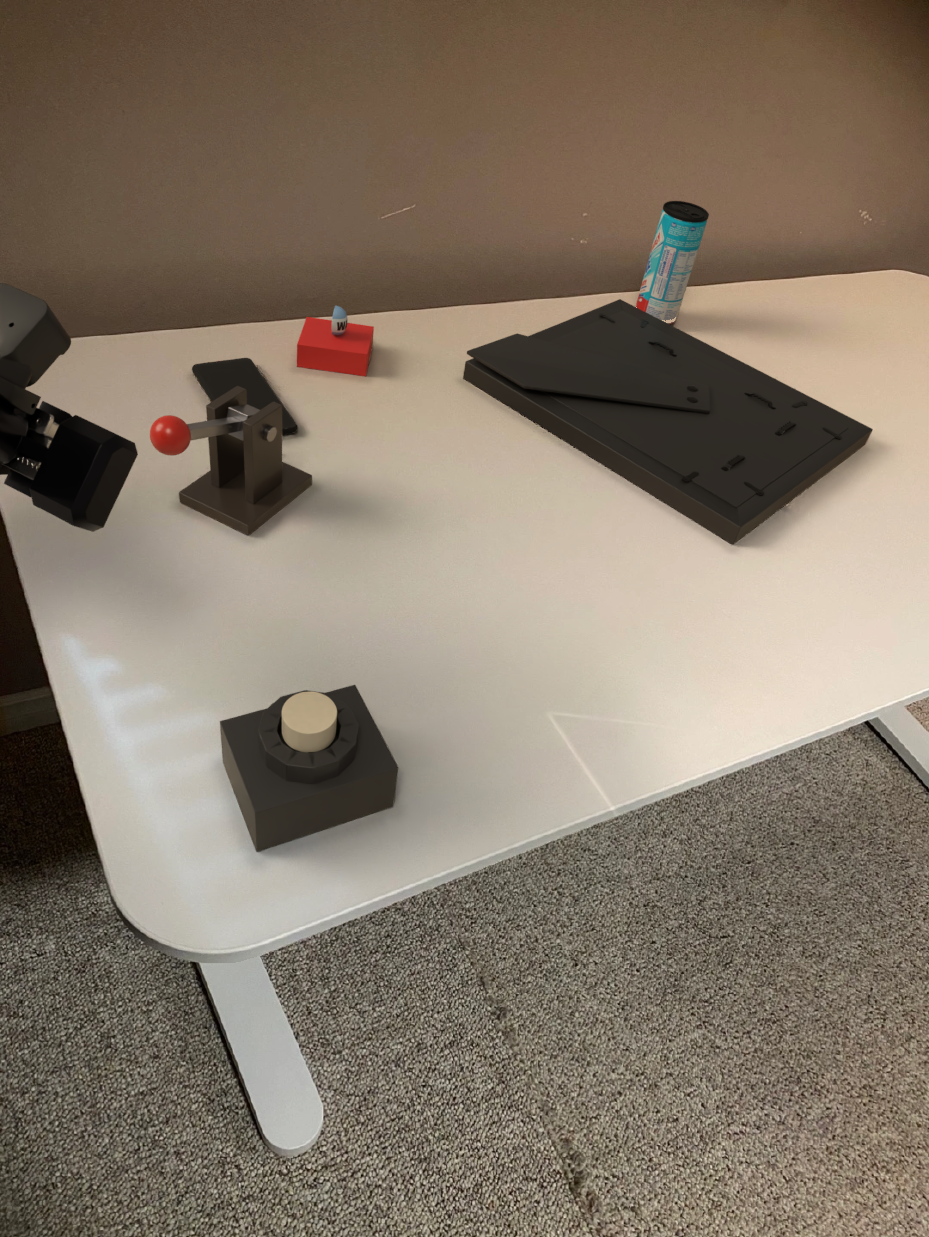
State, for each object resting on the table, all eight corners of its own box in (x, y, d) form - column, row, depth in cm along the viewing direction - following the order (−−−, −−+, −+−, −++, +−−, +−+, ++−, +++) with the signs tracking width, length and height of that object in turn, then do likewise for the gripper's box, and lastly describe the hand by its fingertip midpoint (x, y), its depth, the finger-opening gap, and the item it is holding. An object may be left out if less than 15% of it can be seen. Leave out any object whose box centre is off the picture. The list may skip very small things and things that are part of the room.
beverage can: (657, 307, 132) (689, 199, 122) (683, 327, 128) (718, 217, 118) (624, 312, 129) (654, 202, 119) (650, 332, 126) (682, 221, 116)
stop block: (256, 852, 62) (254, 796, 58) (222, 761, 67) (218, 703, 63) (393, 807, 66) (401, 751, 62) (352, 724, 71) (356, 667, 67)
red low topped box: (372, 348, 113) (375, 298, 108) (365, 376, 108) (369, 325, 103) (306, 338, 112) (307, 288, 108) (296, 366, 107) (297, 315, 103)
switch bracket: (248, 536, 85) (245, 446, 78) (179, 502, 87) (170, 412, 80) (312, 484, 92) (314, 398, 85) (246, 454, 94) (243, 368, 87)
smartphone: (250, 356, 106) (300, 426, 97) (250, 362, 106) (299, 433, 98) (189, 363, 103) (235, 437, 94) (190, 370, 103) (235, 444, 95)
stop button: (292, 759, 61) (292, 739, 59) (274, 718, 63) (274, 699, 62) (343, 743, 62) (345, 724, 61) (324, 705, 64) (325, 685, 63)
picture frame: (462, 378, 110) (732, 545, 94) (466, 350, 108) (744, 517, 92) (615, 314, 128) (864, 445, 112) (622, 289, 126) (878, 420, 109)
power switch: (169, 464, 74) (175, 426, 73) (138, 449, 75) (144, 411, 74) (265, 443, 85) (272, 410, 84) (237, 430, 86) (243, 397, 85)
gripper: (92, 319, 50) (232, 411, 65) (-149, 214, 55) (33, 322, 70) (4, 506, 50) (164, 555, 65) (-229, 384, 55) (-30, 455, 70)
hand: (82, 465), depth 68 cm, fingers closed
